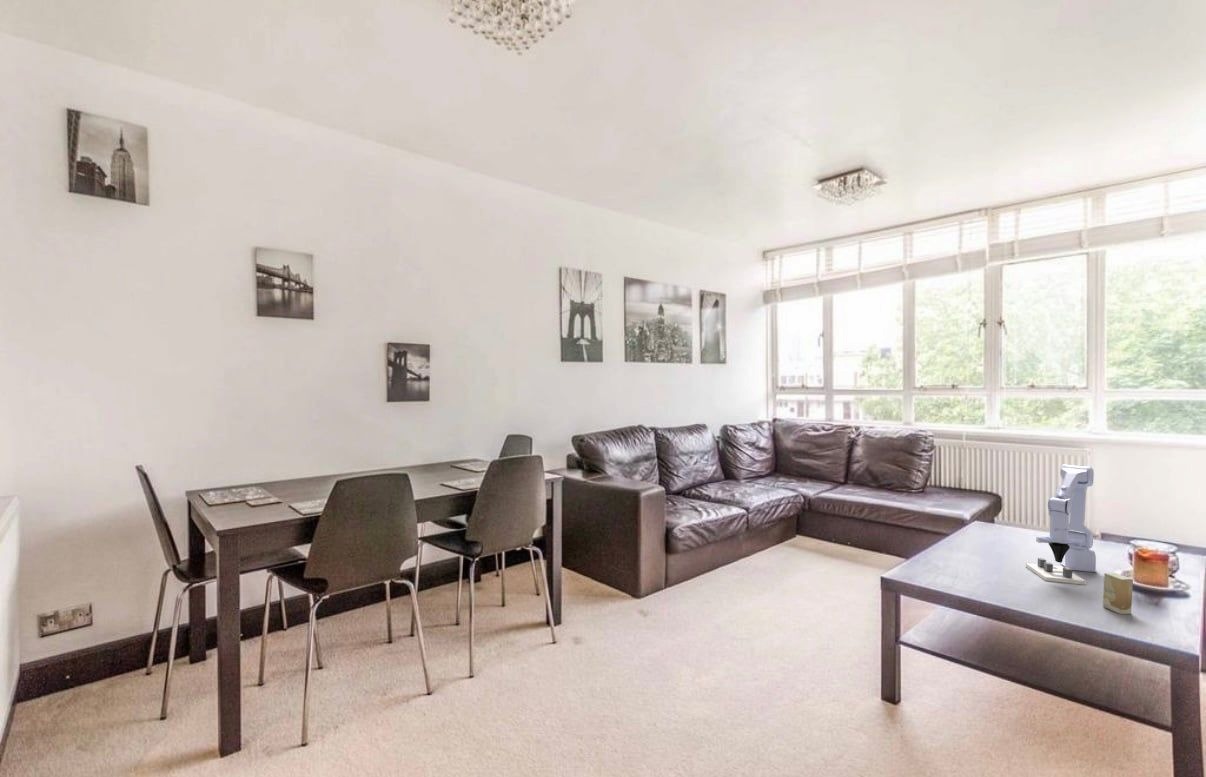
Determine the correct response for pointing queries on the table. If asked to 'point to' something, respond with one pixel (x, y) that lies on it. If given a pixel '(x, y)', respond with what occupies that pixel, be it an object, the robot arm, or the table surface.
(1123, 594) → the skincare box
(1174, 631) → the table surface
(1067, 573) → the breaker
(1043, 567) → the breaker panel
